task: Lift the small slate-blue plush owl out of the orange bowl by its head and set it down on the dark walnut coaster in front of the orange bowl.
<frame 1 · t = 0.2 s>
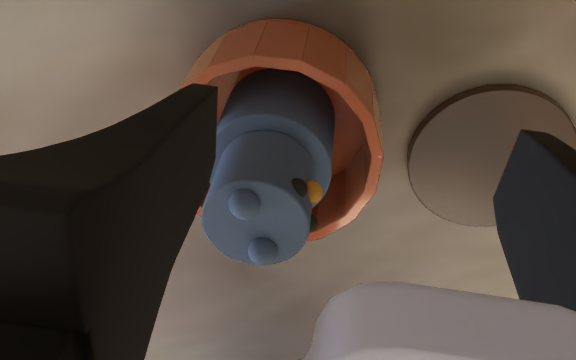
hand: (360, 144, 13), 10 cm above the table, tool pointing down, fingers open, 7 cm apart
owl: (280, 118, 24), resting on orange bowl
coaster: (488, 158, 24), on the table
orange bowl: (281, 112, 24), on the table, touching owl
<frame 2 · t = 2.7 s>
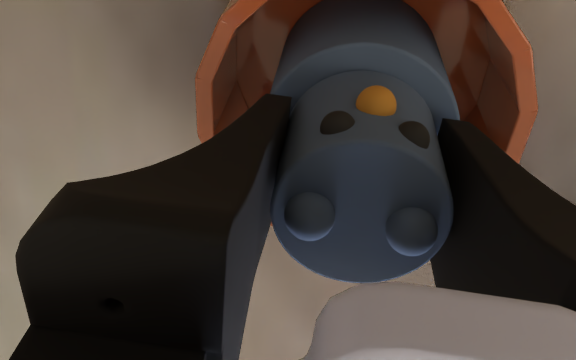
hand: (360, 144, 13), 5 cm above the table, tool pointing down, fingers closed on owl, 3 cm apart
owl: (358, 69, 17), resting on orange bowl, touching gripper
orange bowl: (358, 62, 17), on the table, touching owl
when the fingers open (5 cm above the table, at t = 6.9 s): owl stays where it is, resting on coaster.
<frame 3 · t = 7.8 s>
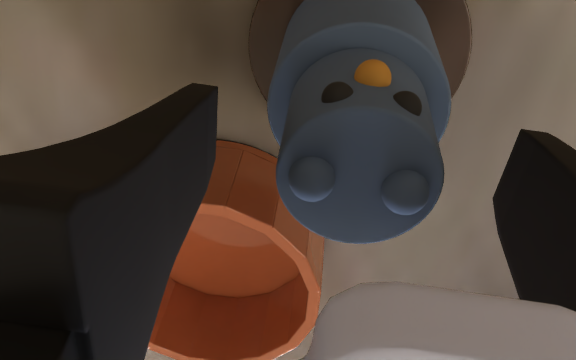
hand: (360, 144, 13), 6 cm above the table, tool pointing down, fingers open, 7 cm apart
owl: (356, 52, 18), resting on coaster
coaster: (357, 47, 18), on the table
orange bowl: (224, 225, 23), on the table
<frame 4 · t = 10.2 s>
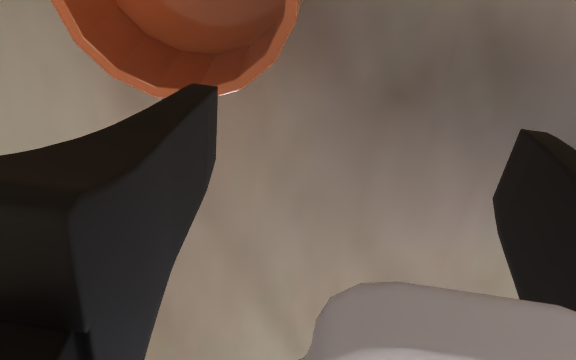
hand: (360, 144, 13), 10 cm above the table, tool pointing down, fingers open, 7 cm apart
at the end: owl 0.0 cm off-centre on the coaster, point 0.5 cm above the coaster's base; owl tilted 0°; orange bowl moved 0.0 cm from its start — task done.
